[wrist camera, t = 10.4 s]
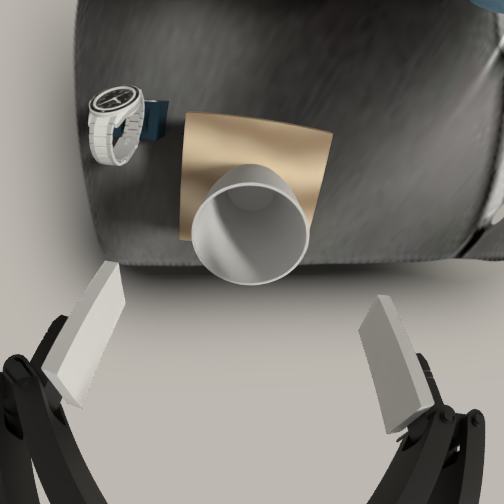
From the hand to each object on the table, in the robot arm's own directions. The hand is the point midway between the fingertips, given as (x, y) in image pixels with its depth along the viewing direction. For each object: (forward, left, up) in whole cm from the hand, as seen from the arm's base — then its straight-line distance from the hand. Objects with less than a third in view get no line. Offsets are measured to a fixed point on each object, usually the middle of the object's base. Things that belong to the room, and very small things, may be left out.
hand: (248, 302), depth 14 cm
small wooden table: (0, 0, -23) cm, 23 cm away
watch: (-5, -14, -23) cm, 27 cm away
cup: (0, 0, -17) cm, 17 cm away
